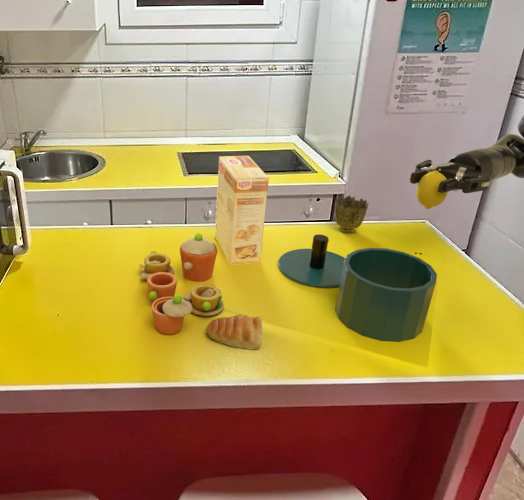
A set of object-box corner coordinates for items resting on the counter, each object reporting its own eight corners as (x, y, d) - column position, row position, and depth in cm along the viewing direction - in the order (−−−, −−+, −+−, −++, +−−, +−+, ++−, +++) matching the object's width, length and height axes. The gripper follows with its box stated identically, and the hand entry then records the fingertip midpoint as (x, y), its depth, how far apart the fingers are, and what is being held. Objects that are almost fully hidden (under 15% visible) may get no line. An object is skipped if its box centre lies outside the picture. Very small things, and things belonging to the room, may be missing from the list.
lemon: (431, 203, 107) (440, 165, 103) (448, 213, 102) (458, 174, 99) (407, 204, 106) (415, 167, 103) (423, 215, 101) (432, 176, 98)
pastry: (204, 346, 85) (205, 327, 83) (207, 323, 91) (208, 304, 89) (262, 352, 84) (264, 332, 82) (261, 327, 90) (263, 309, 88)
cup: (368, 232, 124) (374, 201, 121) (353, 242, 120) (359, 210, 116) (339, 223, 129) (344, 193, 125) (324, 232, 124) (329, 201, 120)
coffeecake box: (261, 265, 110) (270, 177, 101) (228, 267, 109) (234, 178, 100) (243, 234, 123) (249, 154, 114) (213, 236, 122) (217, 155, 113)
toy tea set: (137, 265, 109) (136, 223, 105) (210, 261, 111) (212, 220, 106) (146, 342, 86) (145, 292, 82) (237, 336, 88) (241, 287, 83)
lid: (361, 263, 111) (367, 230, 107) (346, 298, 98) (353, 263, 95) (289, 247, 117) (293, 216, 113) (267, 278, 105) (271, 244, 101)
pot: (425, 309, 95) (439, 259, 91) (418, 354, 84) (433, 299, 79) (344, 289, 101) (353, 241, 96) (327, 329, 90) (336, 276, 85)
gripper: (447, 142, 112) (398, 154, 104) (516, 159, 101) (466, 174, 93) (439, 175, 115) (390, 190, 107) (505, 195, 105) (456, 213, 97)
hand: (426, 183), depth 100 cm, fingers closed on lemon, 5 cm apart
